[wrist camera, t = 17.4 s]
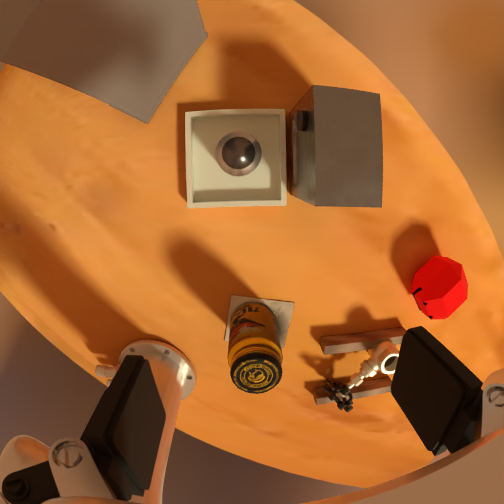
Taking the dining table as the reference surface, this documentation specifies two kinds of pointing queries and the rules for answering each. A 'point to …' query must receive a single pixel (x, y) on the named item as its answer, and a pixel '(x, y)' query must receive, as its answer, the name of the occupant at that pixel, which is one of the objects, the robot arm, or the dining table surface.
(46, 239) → the dining table surface
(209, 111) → the tray
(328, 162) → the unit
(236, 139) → the cylinder
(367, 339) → the valve rest
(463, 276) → the ball
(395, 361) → the valve
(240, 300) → the condiment
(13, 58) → the cassette tape recorder
